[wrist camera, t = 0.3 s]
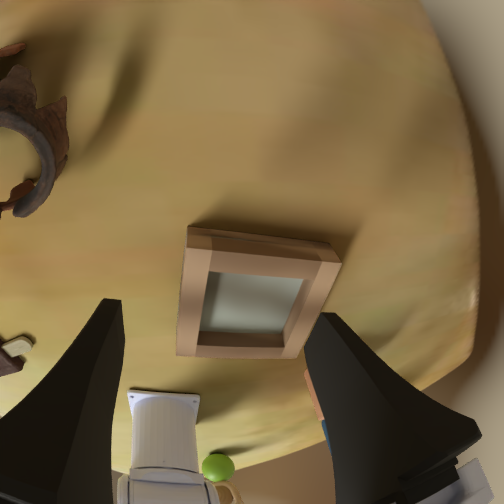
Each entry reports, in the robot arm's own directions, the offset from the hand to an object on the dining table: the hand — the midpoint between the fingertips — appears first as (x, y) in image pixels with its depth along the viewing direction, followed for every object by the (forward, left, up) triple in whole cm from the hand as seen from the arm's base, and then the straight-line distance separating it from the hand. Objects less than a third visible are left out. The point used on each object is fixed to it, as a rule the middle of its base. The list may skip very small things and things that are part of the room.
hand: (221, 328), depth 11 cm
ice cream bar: (-19, +22, -11) cm, 31 cm away
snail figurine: (-43, -7, -10) cm, 45 cm away
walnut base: (-6, -4, -10) cm, 12 cm away
